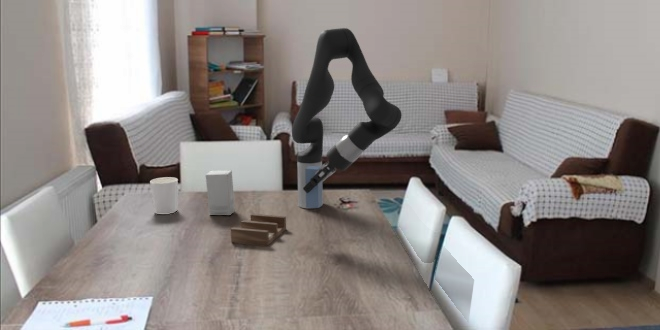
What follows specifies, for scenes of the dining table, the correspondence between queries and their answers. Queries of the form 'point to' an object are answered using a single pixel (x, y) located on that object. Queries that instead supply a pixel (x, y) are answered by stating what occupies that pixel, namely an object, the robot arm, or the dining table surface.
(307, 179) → the block
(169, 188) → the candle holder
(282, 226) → the rack
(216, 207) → the skincare box
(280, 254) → the dining table surface
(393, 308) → the dining table surface
